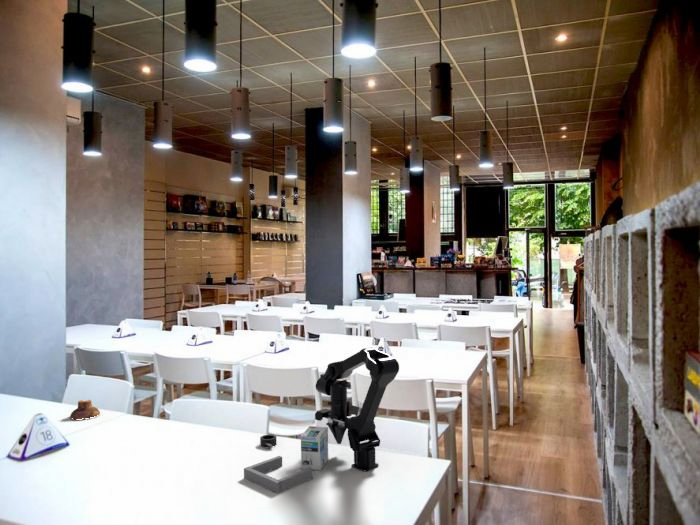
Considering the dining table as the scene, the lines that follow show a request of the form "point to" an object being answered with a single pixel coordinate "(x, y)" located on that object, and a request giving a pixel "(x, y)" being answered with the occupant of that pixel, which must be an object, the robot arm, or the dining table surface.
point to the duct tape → (268, 440)
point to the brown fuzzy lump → (84, 410)
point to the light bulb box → (314, 447)
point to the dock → (257, 476)
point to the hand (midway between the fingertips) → (339, 443)
